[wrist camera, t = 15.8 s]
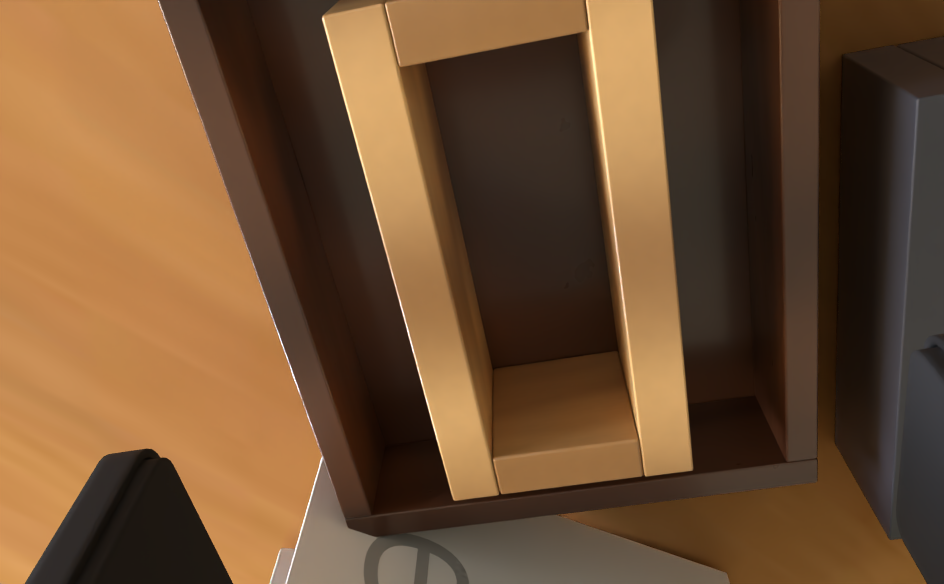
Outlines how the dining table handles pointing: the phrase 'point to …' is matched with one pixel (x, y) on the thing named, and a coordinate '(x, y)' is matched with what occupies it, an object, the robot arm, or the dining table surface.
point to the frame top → (447, 266)
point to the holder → (529, 240)
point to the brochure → (473, 553)
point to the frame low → (887, 252)
